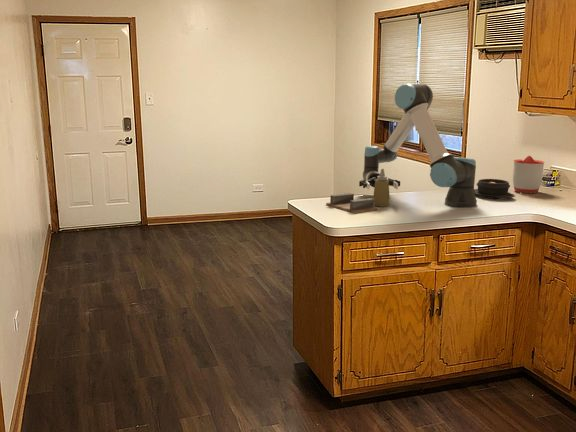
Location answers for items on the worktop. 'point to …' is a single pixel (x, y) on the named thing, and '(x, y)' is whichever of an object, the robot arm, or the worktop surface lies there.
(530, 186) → the citrus juicer
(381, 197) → the squeeze bottle
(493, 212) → the worktop surface
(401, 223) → the worktop surface
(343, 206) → the end cap board
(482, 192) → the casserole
